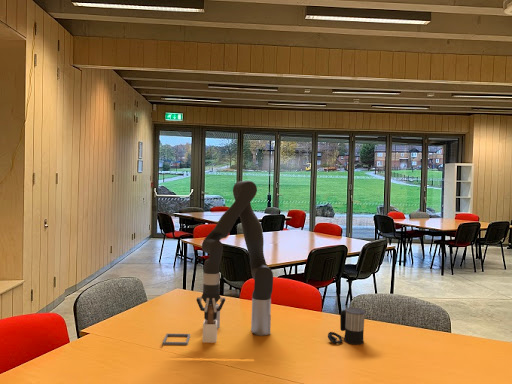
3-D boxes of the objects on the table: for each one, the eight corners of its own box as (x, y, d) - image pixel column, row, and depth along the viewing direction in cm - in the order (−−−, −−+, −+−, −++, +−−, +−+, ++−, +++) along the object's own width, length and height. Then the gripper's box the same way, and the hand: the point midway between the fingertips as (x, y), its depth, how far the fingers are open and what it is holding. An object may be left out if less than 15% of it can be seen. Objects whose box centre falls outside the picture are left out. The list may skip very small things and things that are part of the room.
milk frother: (367, 341, 209) (369, 310, 208) (350, 350, 197) (351, 317, 197) (342, 333, 218) (343, 304, 218) (323, 341, 207) (324, 310, 207)
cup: (216, 339, 206) (217, 320, 205) (216, 344, 200) (216, 324, 199) (203, 339, 206) (204, 319, 205) (202, 344, 199) (202, 324, 199)
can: (212, 331, 215) (213, 307, 215) (201, 328, 220) (202, 304, 219) (222, 328, 221) (223, 304, 221) (211, 324, 226) (212, 301, 225)
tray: (190, 337, 207) (190, 333, 207) (187, 346, 196) (187, 342, 196) (166, 337, 206) (166, 333, 206) (162, 346, 195) (162, 342, 195)
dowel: (213, 338, 204) (214, 304, 203) (213, 340, 201) (213, 306, 200) (206, 338, 204) (207, 304, 203) (206, 340, 201) (207, 306, 200)
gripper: (226, 280, 206) (226, 317, 206) (196, 280, 205) (195, 316, 206) (226, 284, 198) (225, 322, 199) (195, 284, 198) (194, 322, 198)
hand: (210, 319), depth 202 cm, fingers closed on dowel, 3 cm apart
